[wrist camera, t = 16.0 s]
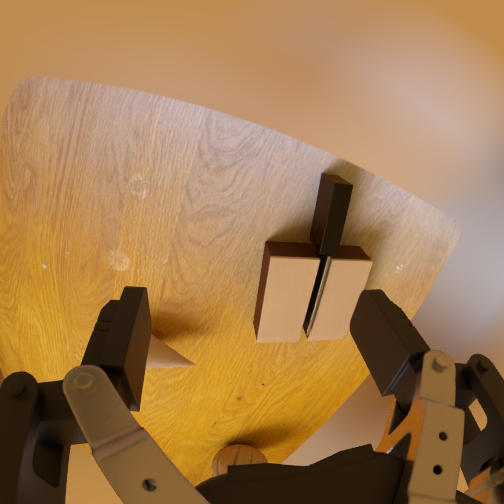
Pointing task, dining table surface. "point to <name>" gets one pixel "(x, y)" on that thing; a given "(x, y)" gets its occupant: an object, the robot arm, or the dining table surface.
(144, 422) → the dining table surface
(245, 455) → the cantaloupe
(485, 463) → the robot arm
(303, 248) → the slotted tan block
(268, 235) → the dining table surface
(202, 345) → the dining table surface
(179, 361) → the ice cream cone
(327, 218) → the knife
